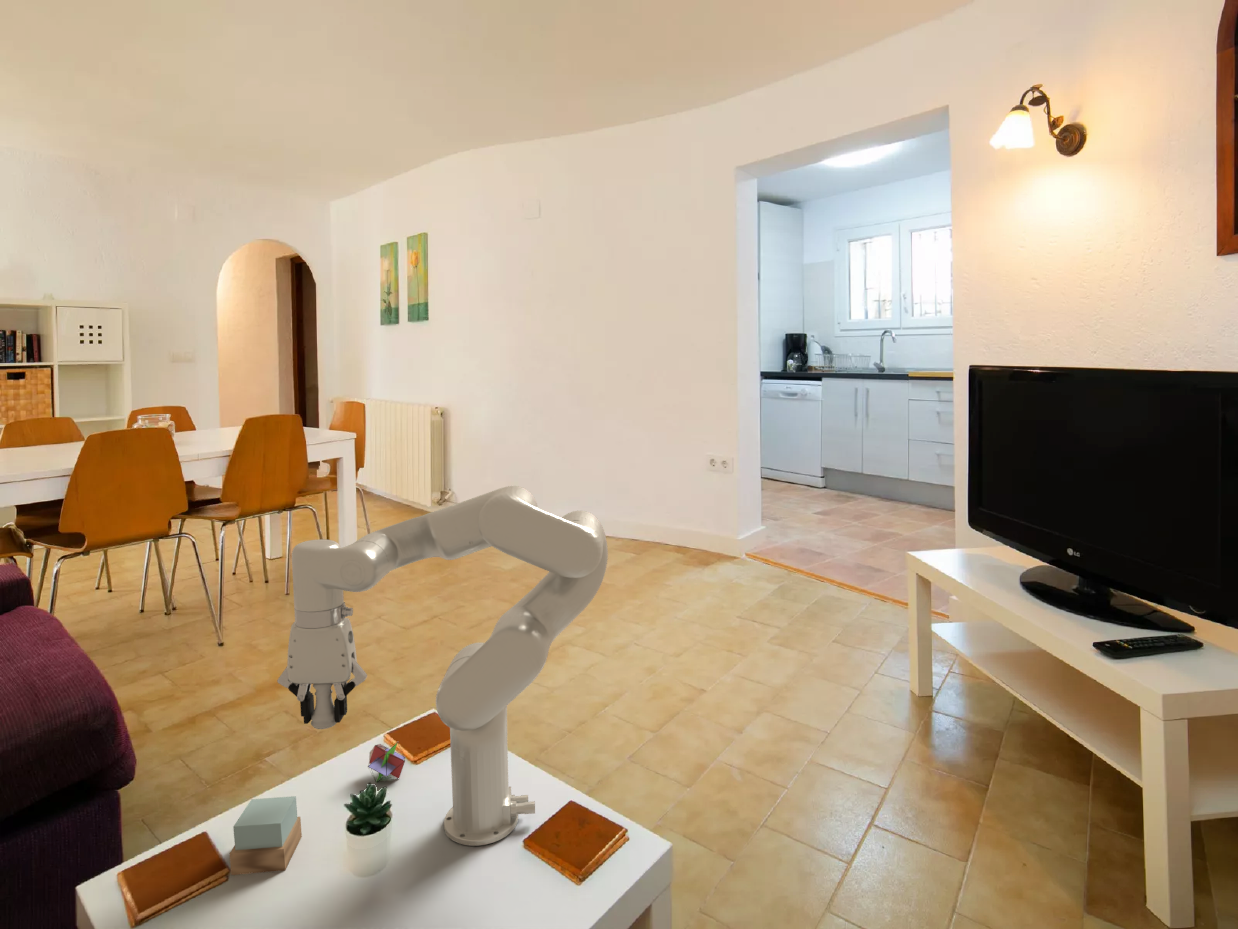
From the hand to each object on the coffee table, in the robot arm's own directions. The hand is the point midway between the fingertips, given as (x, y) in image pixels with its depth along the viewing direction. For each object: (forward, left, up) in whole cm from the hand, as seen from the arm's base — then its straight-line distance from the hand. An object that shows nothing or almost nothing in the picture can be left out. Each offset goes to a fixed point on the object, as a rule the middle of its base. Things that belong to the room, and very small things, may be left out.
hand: (324, 718), depth 117 cm
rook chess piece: (0, 0, -1) cm, 1 cm away
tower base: (+8, +7, -20) cm, 22 cm away
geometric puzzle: (-7, -13, -20) cm, 25 cm away
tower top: (+8, +7, -16) cm, 19 cm away
